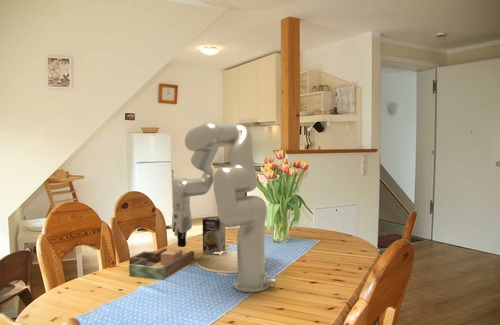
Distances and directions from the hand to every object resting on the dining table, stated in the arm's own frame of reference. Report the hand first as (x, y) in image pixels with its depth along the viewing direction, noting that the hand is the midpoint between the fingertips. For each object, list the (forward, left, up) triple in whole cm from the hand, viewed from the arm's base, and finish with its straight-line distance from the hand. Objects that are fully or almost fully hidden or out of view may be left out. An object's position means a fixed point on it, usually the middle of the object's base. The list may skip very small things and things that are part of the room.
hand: (181, 246), depth 166 cm
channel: (+3, +15, -5) cm, 16 cm away
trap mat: (+9, +15, -5) cm, 18 cm away
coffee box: (-11, -10, -5) cm, 16 cm away
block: (0, +9, -5) cm, 10 cm away
